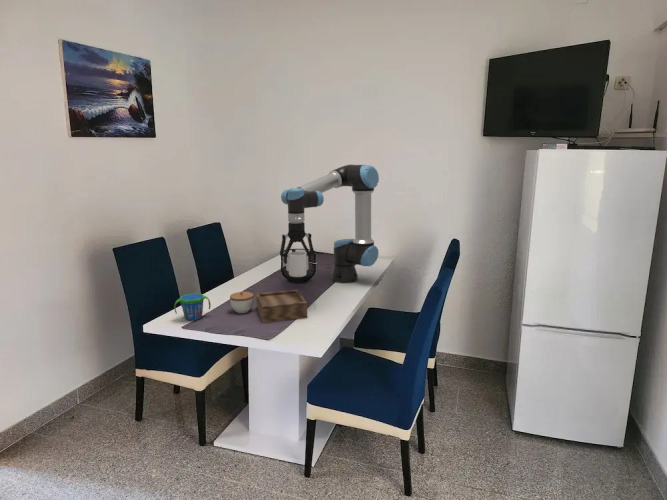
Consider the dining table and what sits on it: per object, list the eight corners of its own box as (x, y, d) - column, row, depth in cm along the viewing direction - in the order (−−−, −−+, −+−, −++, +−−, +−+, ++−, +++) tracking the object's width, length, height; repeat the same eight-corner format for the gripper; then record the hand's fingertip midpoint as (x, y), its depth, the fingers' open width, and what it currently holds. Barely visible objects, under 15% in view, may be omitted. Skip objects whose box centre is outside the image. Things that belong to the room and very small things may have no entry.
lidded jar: (228, 309, 228) (227, 290, 226) (250, 306, 232) (249, 287, 230) (233, 316, 219) (232, 296, 217) (256, 312, 223) (255, 293, 221)
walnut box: (298, 303, 235) (297, 289, 233) (307, 317, 216) (306, 302, 214) (256, 308, 229) (256, 293, 228) (262, 322, 210) (261, 307, 209)
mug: (296, 270, 235) (296, 249, 233) (312, 271, 232) (312, 250, 230) (285, 276, 224) (285, 254, 222) (302, 278, 221) (301, 256, 219)
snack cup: (174, 324, 210) (172, 301, 208) (176, 316, 220) (174, 294, 218) (211, 320, 214) (209, 298, 212) (211, 312, 224) (209, 291, 222)
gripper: (274, 224, 216) (276, 273, 221) (320, 222, 222) (321, 269, 227) (272, 221, 223) (273, 269, 228) (316, 219, 229) (317, 266, 234)
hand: (297, 269), depth 227 cm, fingers closed on mug, 9 cm apart
